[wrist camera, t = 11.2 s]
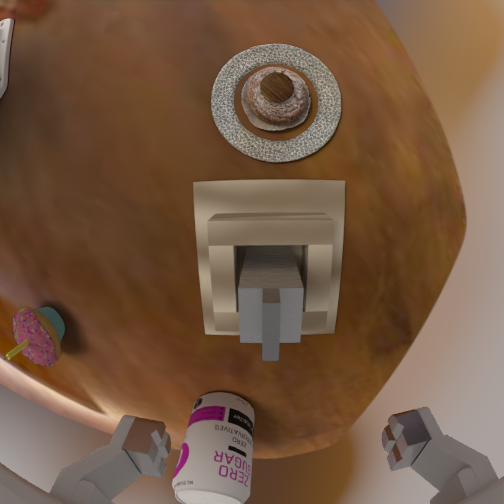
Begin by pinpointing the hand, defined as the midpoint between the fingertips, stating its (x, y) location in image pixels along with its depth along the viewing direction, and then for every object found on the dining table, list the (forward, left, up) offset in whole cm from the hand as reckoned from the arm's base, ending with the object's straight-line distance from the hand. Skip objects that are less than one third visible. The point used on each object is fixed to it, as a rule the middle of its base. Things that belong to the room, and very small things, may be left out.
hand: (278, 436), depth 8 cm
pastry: (-15, +1, -21) cm, 26 cm away
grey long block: (+1, 0, -20) cm, 20 cm away
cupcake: (+9, -30, -21) cm, 38 cm away
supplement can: (+21, -6, -21) cm, 30 cm away
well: (0, 0, -20) cm, 20 cm away
